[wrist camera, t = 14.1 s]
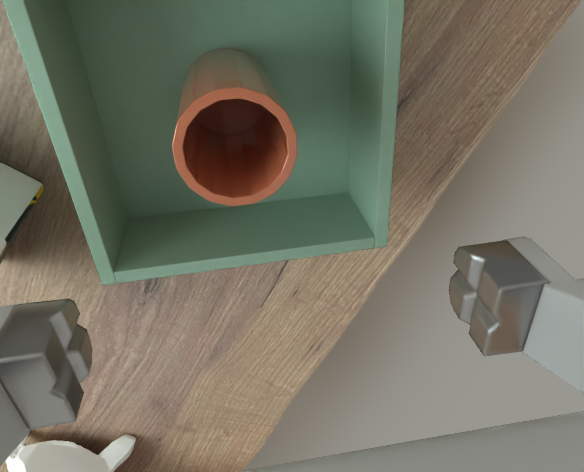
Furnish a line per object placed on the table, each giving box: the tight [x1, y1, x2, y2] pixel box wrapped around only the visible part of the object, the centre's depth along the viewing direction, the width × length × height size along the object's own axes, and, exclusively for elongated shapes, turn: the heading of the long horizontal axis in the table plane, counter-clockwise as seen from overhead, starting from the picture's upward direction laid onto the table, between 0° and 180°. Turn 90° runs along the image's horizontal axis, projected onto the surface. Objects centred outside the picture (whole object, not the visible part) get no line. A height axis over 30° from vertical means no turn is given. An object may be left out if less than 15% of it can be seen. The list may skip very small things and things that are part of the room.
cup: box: [172, 48, 298, 206], centre depth 23 cm, size 5×5×9 cm
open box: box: [3, 0, 405, 285], centre depth 25 cm, size 17×17×7 cm
